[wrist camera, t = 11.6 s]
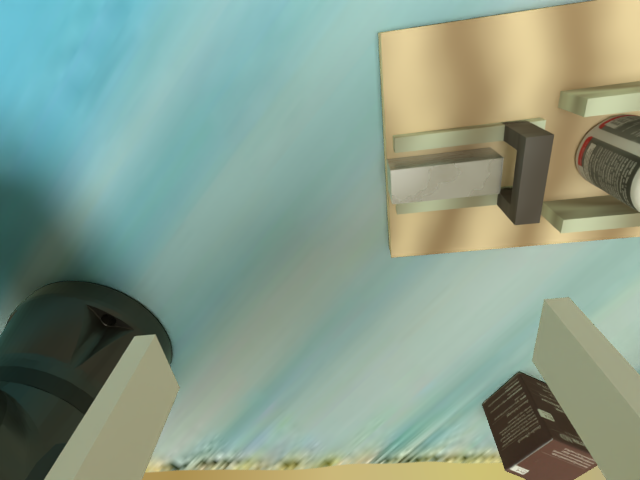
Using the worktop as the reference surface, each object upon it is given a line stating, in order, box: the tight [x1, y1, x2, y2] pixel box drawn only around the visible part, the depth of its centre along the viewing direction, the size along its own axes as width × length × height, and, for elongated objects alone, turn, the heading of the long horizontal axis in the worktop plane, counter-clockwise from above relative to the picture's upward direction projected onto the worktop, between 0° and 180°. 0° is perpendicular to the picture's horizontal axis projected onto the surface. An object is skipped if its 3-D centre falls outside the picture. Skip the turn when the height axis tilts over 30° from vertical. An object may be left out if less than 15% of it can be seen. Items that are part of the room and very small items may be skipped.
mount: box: [378, 0, 640, 258], centre depth 24 cm, size 22×16×6 cm
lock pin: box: [387, 147, 504, 204], centre depth 25 cm, size 7×2×2 cm, turn 98°
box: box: [482, 373, 597, 480], centre depth 37 cm, size 6×6×7 cm
